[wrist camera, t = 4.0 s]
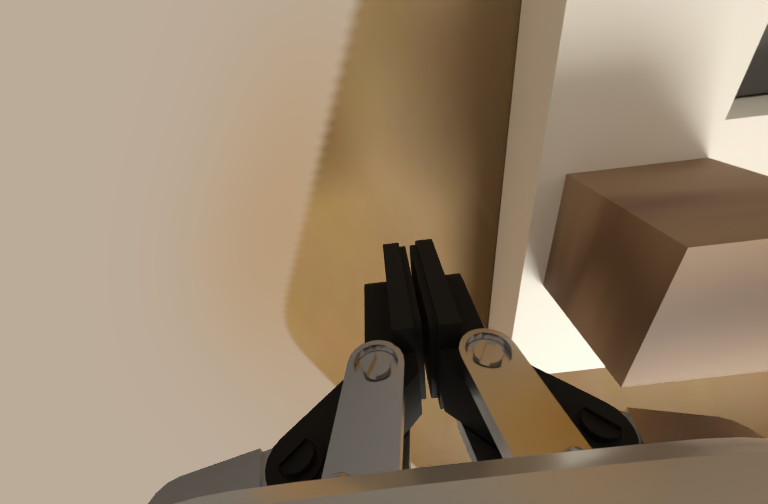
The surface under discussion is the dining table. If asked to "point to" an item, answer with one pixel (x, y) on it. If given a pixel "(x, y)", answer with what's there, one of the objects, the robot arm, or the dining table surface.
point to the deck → (615, 128)
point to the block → (665, 269)
